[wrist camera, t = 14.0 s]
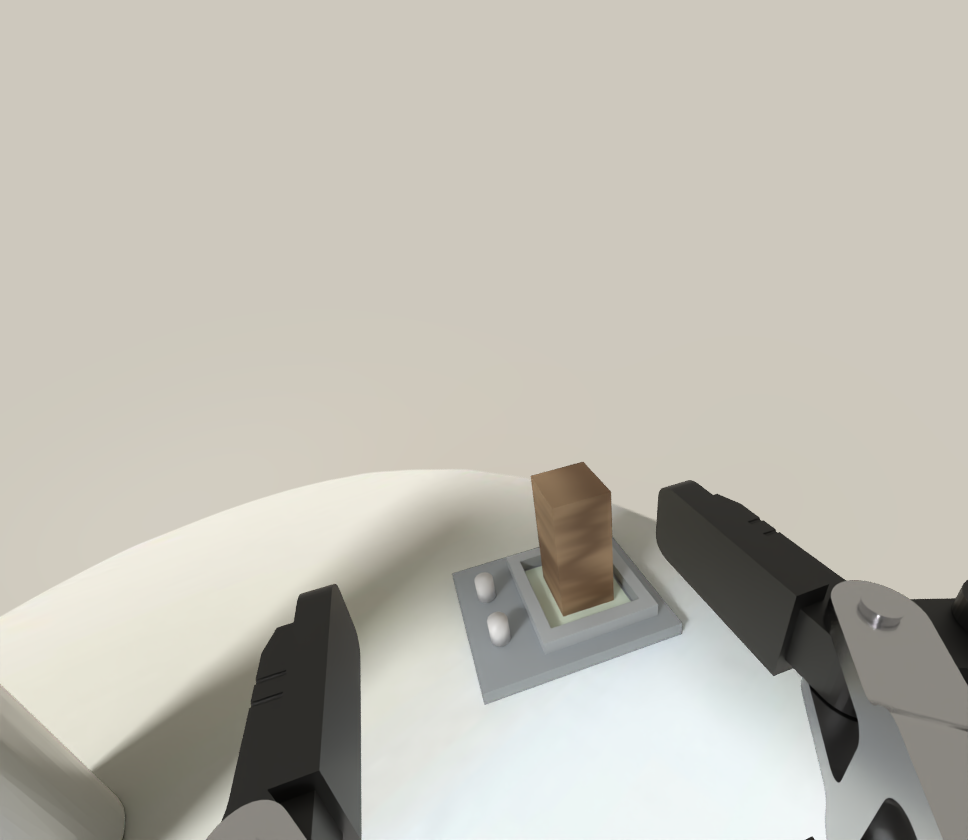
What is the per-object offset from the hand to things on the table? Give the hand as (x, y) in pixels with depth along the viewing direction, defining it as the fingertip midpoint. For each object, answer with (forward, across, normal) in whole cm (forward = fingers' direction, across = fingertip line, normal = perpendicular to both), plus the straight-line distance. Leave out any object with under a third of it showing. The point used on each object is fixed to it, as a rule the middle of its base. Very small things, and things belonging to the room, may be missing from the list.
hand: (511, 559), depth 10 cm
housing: (+17, -7, +24) cm, 30 cm away
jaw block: (+17, -9, +23) cm, 30 cm away
